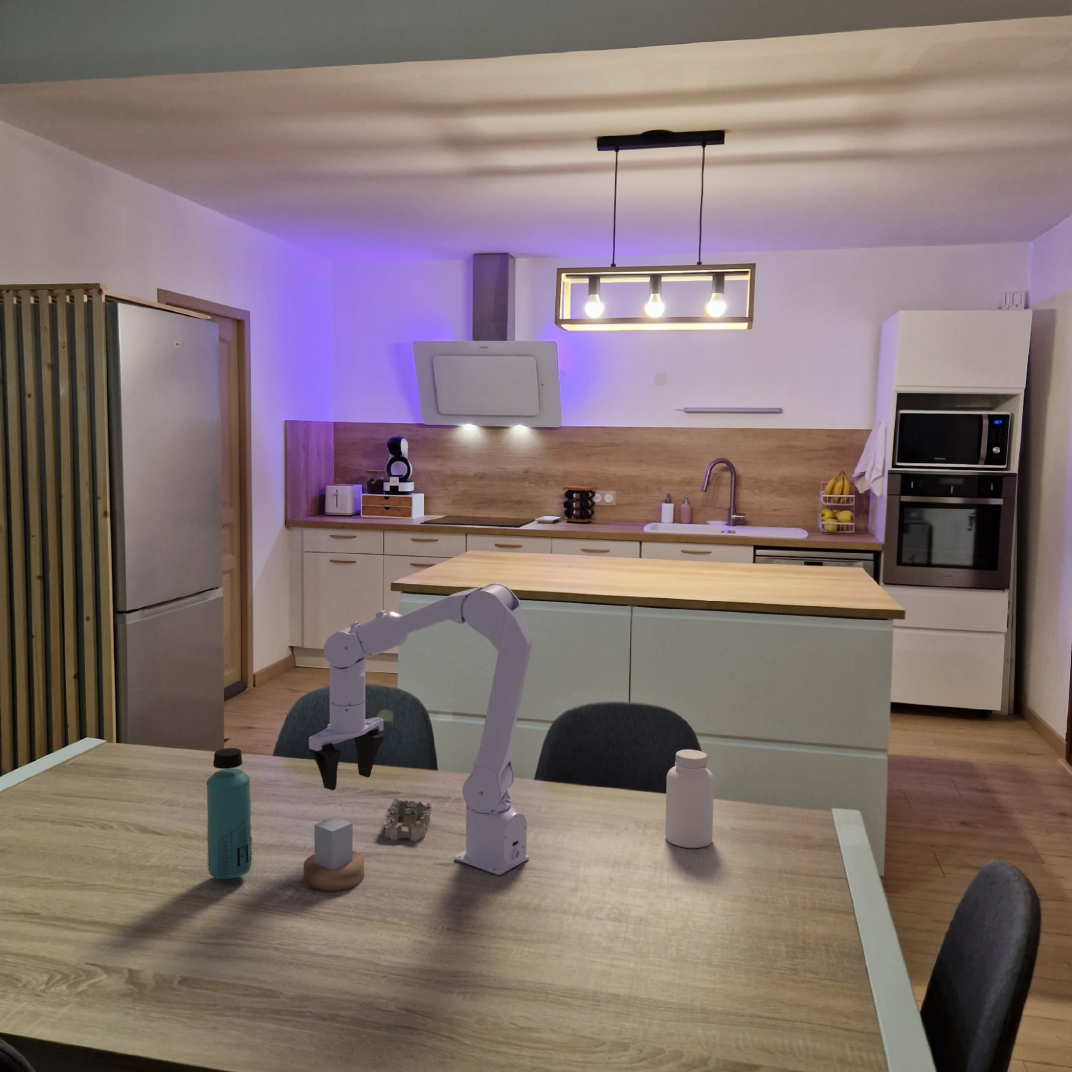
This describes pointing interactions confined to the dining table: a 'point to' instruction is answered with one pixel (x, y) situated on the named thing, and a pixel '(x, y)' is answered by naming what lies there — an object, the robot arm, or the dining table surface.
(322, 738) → the robot arm
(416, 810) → the egg carton
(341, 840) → the block
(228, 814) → the beverage bottle
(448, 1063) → the dining table surface
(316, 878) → the pedestal
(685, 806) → the pill bottle
